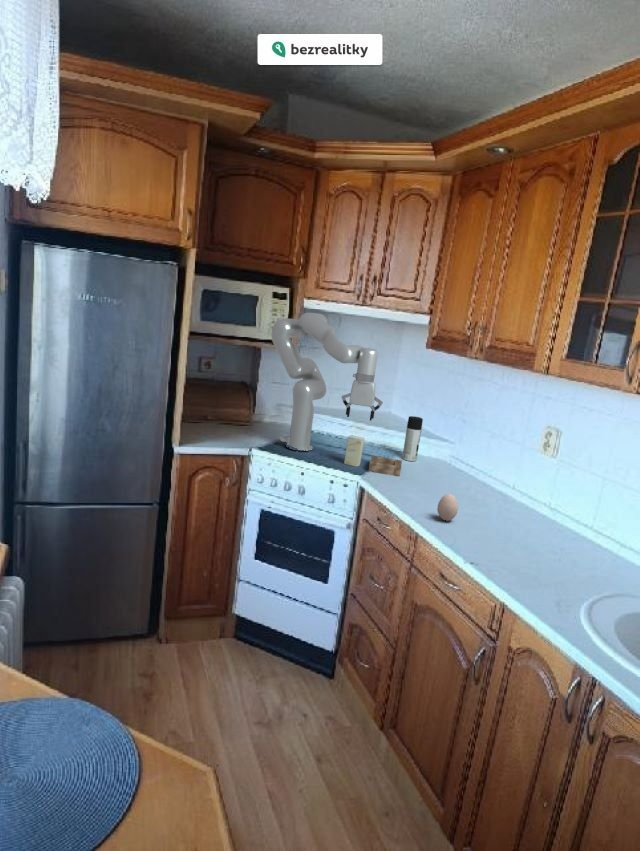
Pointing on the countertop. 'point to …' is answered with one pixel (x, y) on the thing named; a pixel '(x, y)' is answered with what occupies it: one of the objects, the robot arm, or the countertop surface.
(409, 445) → the spray can
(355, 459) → the skincare box
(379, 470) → the socket block
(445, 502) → the egg
